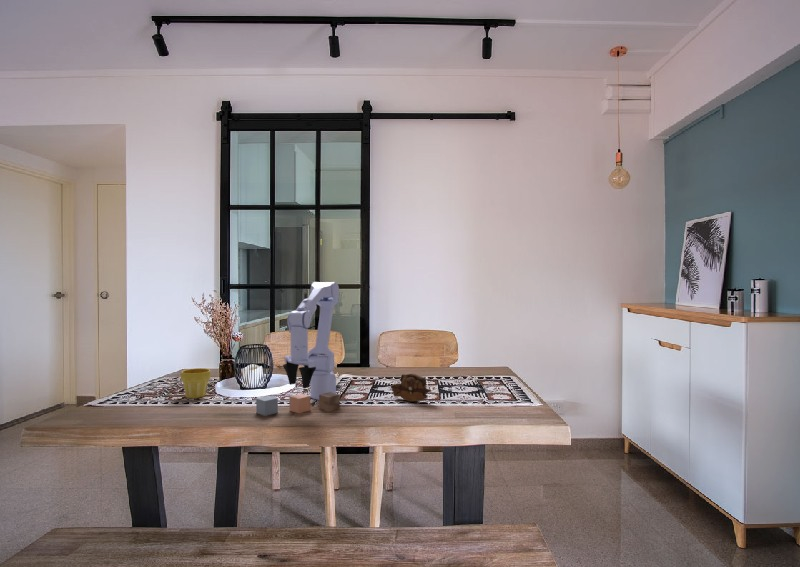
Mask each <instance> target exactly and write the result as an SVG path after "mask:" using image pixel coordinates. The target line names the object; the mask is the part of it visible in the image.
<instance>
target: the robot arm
mask: <svg viewBox="0 0 800 567" xmlns="http://www.w3.org/2000/svg"><path fill="white" fill-rule="evenodd" d="M339 296H340V287H339V284H338V283H337V281H331V282H329V281H325V282H324V281H323V282H322V281H320V282H319V281H313V282H312V283H311V285H310V294H309V296H308V297H307V298H304V299H303V300H302V301H301V302H300V304H299V305H298V306H297V308H296V309H295V310H292V311H291V312H289V313H288V315H287V320H286V321H287V322H286V323H287V326H288V332H289V333H290V356H289V355H288V356H284V364H282V367H283V369H284V371H285V373H286V376H287V379H288V382H289V383H288V384H289V385H295V384H296V383H297V374H298V370H299V372H300V375H301V376H300V377H301V382H302V383H301V385H302V388H303V389H308V388H309V387H310V393H308V394H307V395H309V396H310V399H314V400H318V401H319V395H320V394H324V393H328V392H332V393H336V394H337V377H336V374H335V373H334V371H333V370H334V369H335V353H334V352H333V351H332V350H331V349H330V348H329V345H330V344H329V342H330V335H331V330H332V329H331V328H332V321H333V312H334V307H335V306H336V305H338V303H339V302H338V301H339ZM317 306H319V307H320V312H319V318H318V319H319V320H318V325H317V333H316V339H315V346H314V347H312V349H310V350H309V345H308V344H309V342H308V341H309V340H308V338H309V336H308V334H309V330H308V329H309V327H310V325H311V322H312V319H313V318H312V316H313V315H314V313H315V312H316V310H317ZM299 366H301V367H299Z"/></svg>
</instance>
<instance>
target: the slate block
mask: <svg viewBox="0 0 800 567" xmlns="http://www.w3.org/2000/svg"><path fill="white" fill-rule="evenodd" d="M255 400H256V401H255V402H256V406H255V407H256V409H255V410H256V411H255V412H256V414H258V415H261V416H264V417H266V416H270V415H271V416H272V415H273V414H277V413H279V411H278V410H279V401H278V400H279V397H275V396H272V395H267V396H266V395H265V396H262V397H256V399H255Z"/></svg>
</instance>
